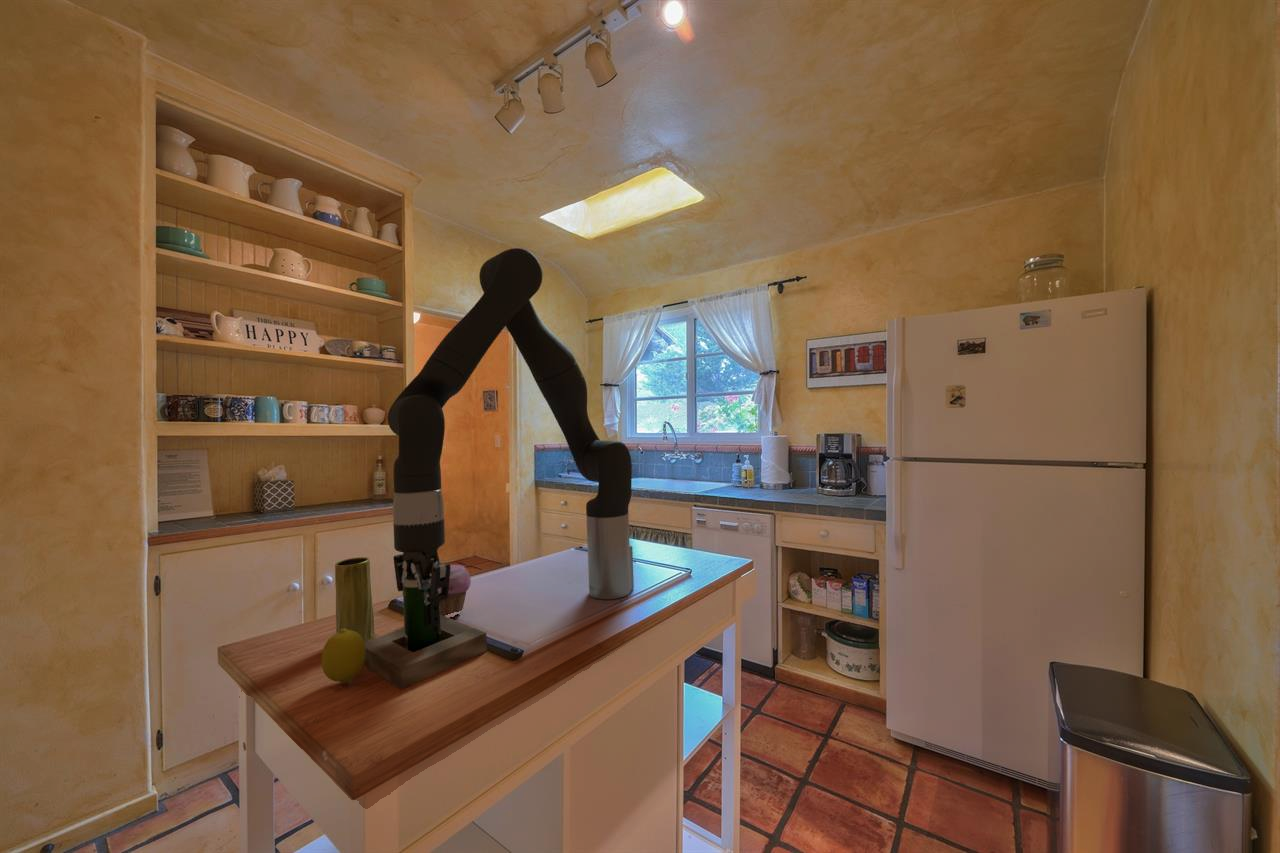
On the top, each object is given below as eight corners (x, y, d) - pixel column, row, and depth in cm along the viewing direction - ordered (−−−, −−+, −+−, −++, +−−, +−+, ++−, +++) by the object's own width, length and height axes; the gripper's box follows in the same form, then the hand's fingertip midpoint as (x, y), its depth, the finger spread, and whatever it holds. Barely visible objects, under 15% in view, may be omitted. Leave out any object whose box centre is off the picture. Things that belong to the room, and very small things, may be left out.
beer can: (412, 660, 75) (409, 583, 75) (400, 650, 78) (397, 576, 78) (446, 648, 78) (444, 575, 78) (434, 639, 82) (431, 568, 82)
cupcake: (420, 614, 97) (418, 564, 97) (464, 603, 102) (462, 556, 102) (431, 628, 90) (429, 574, 90) (477, 616, 95) (476, 565, 95)
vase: (337, 653, 81) (334, 568, 81) (332, 641, 86) (329, 561, 85) (378, 642, 85) (375, 560, 85) (371, 631, 89) (368, 554, 89)
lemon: (349, 671, 75) (347, 619, 75) (375, 676, 73) (373, 623, 73) (313, 690, 69) (311, 634, 69) (340, 696, 67) (338, 639, 67)
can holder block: (441, 631, 88) (440, 614, 88) (486, 651, 80) (486, 632, 80) (359, 662, 77) (358, 644, 77) (401, 689, 69) (401, 668, 69)
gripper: (465, 518, 77) (468, 624, 77) (419, 511, 86) (422, 606, 86) (419, 527, 71) (423, 642, 71) (375, 518, 80) (378, 620, 80)
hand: (422, 621), depth 78 cm, fingers closed on beer can, 5 cm apart
